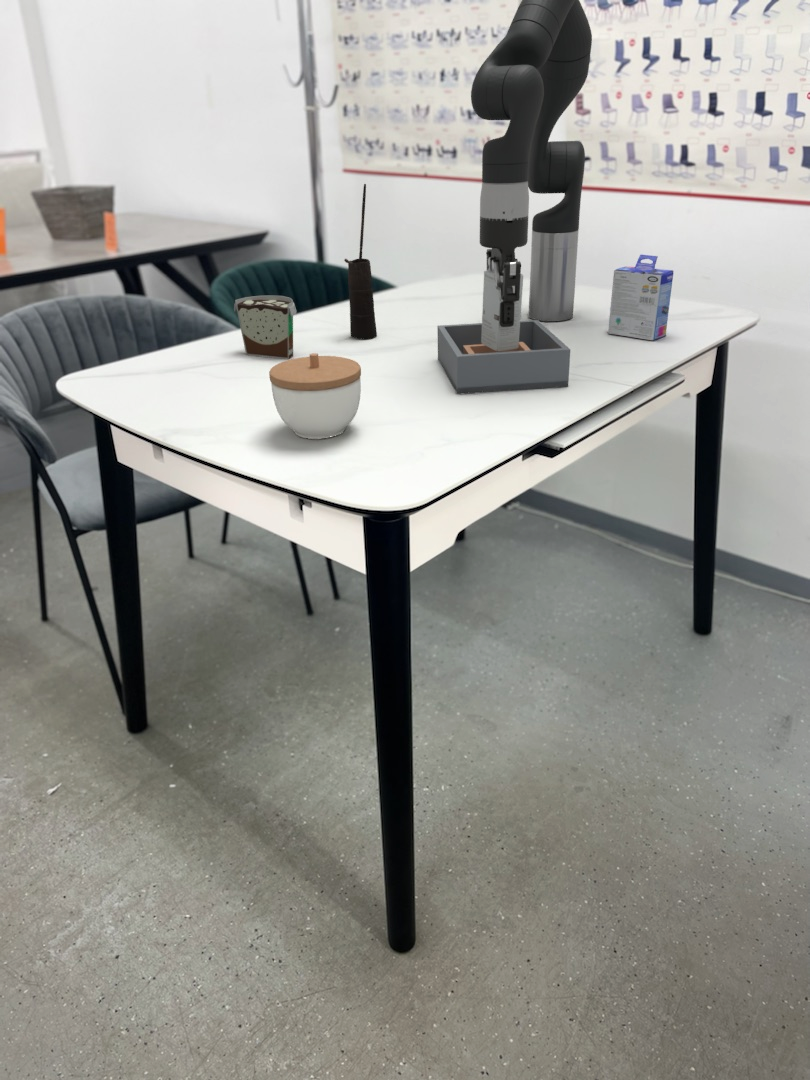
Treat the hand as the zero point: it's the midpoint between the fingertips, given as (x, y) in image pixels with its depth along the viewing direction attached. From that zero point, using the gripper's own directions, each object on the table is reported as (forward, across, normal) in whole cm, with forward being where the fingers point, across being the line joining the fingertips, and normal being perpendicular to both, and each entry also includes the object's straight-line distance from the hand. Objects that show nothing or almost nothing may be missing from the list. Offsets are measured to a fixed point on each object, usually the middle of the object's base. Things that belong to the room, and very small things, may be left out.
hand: (501, 320), depth 136 cm
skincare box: (+4, 0, 0) cm, 4 cm away
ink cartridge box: (+9, -18, +31) cm, 37 cm away
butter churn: (+9, -29, -22) cm, 38 cm away
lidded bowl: (+9, +22, -31) cm, 39 cm away
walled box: (+9, 0, 0) cm, 9 cm away
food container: (+9, -21, -38) cm, 44 cm away
